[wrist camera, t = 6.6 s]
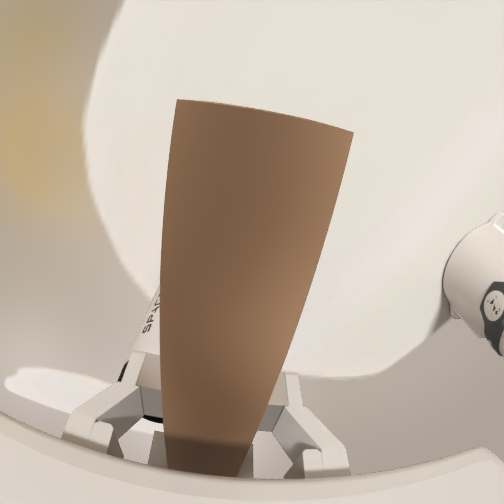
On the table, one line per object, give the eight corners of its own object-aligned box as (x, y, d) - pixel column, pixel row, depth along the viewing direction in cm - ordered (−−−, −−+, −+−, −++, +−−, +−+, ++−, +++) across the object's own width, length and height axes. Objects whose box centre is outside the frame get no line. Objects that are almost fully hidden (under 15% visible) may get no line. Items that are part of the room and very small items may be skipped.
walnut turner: (357, 132, 8) (452, 167, 4) (249, 451, 17) (250, 519, 12) (158, 96, 8) (67, 96, 4) (155, 438, 16) (143, 506, 12)
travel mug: (208, 305, 42) (183, 434, 24) (162, 294, 41) (113, 415, 23) (218, 267, 39) (190, 400, 21) (167, 255, 38) (108, 377, 20)
